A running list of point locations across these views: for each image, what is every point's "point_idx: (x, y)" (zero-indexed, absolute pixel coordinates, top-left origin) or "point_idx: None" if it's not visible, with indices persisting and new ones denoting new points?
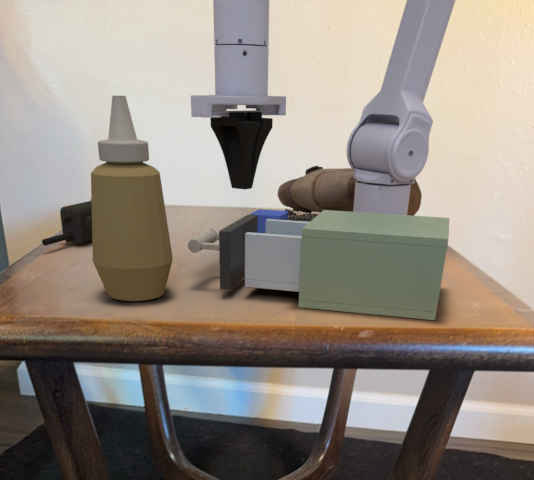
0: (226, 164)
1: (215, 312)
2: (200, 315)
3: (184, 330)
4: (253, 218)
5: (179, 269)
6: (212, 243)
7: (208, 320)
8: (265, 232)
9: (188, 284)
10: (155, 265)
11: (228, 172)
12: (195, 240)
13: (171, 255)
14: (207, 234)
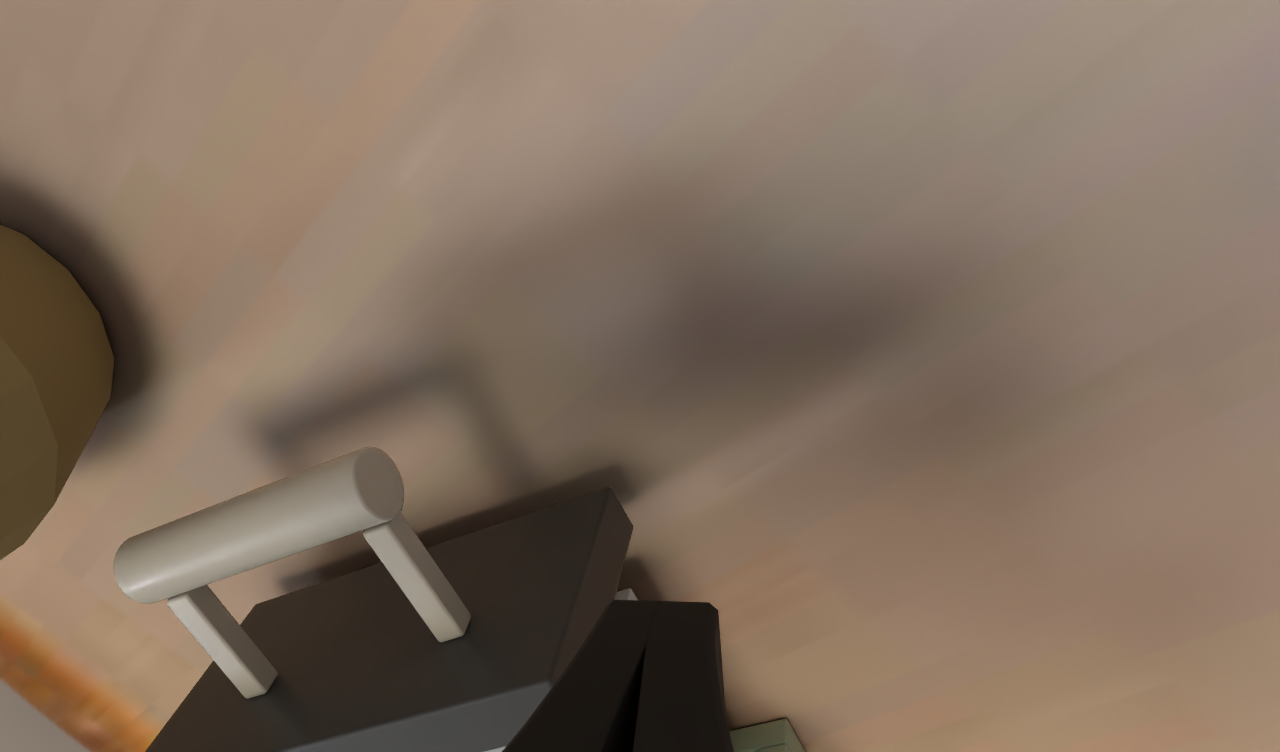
0: (519, 730)
1: (168, 650)
2: (110, 635)
3: (5, 674)
4: (496, 746)
5: (417, 120)
6: (210, 641)
7: (108, 675)
8: None
9: (282, 368)
10: None
11: (558, 680)
12: (132, 594)
13: (7, 553)
14: (264, 557)
